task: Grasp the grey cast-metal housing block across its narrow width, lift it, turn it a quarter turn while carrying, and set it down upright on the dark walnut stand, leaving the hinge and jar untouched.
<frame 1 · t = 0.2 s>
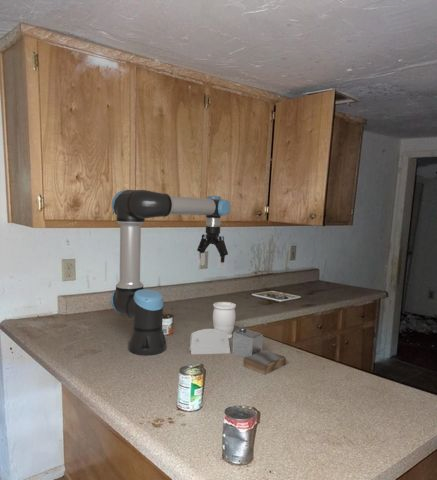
hand: (211, 266, 199), 28 cm above the worktop, fingers open, 13 cm apart
stand: (264, 365, 145), on the worktop
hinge: (209, 351, 158), on the worktop
housing: (247, 355, 154), on the worktop
jar: (223, 336, 176), on the worktop
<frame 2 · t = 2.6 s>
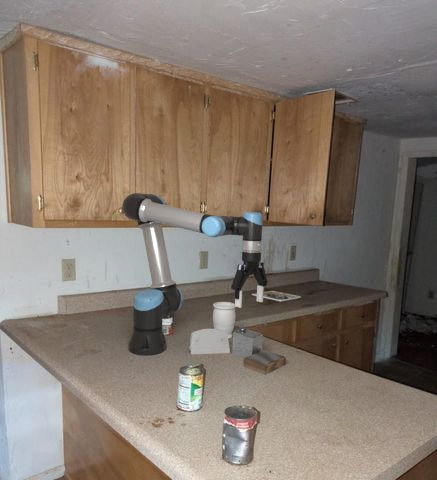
hand: (249, 304, 153), 21 cm above the worktop, fingers open, 13 cm apart
nothing on the worktop moved.
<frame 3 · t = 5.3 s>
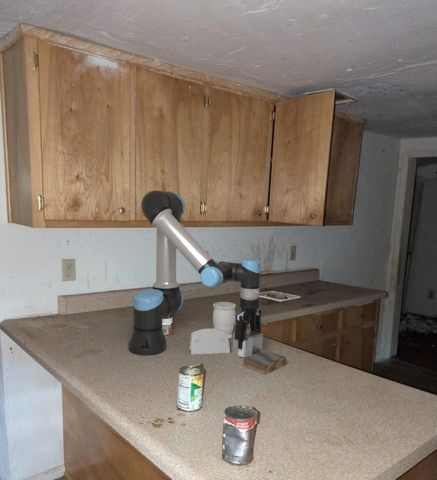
hand: (247, 353, 154), 0 cm above the worktop, fingers closed on housing, 6 cm apart
housing: (247, 355, 154), on the worktop, touching gripper
everything else where it was.
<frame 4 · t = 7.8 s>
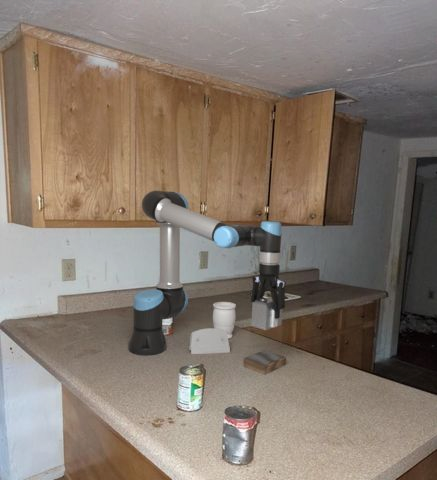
hand: (266, 324, 143), 16 cm above the worktop, fingers closed on housing, 6 cm apart
housing: (266, 325, 143), point 16 cm above the worktop, touching gripper
everything else where it was.
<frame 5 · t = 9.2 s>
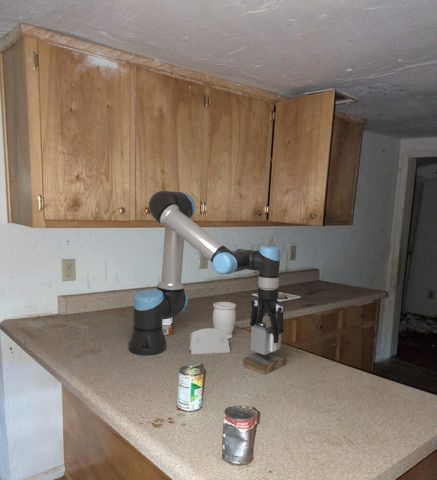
hand: (265, 348, 144), 7 cm above the worktop, fingers closed on housing, 6 cm apart
housing: (265, 349, 144), point 6 cm above the worktop, touching gripper
everything else where it was.
when the fingers open (4 cm above the worktop, at t = 10.5 s): housing stays where it is, resting on stand.
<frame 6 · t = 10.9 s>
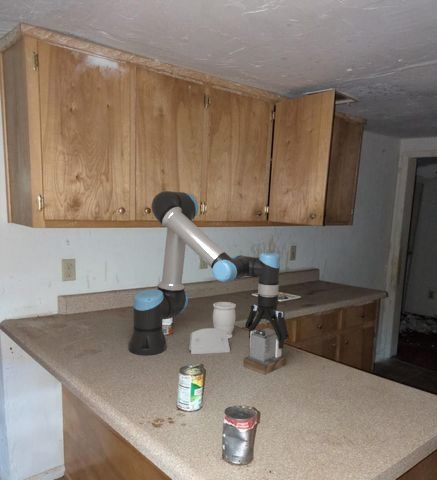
hand: (265, 351, 144), 5 cm above the worktop, fingers open, 11 cm apart
housing: (264, 356, 144), point 3 cm above the worktop, touching stand
everything else where it was.
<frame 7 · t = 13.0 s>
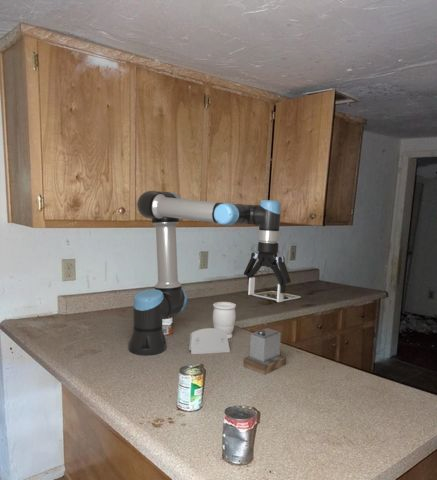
hand: (265, 297, 144), 25 cm above the worktop, fingers open, 13 cm apart
nothing on the worktop moved.
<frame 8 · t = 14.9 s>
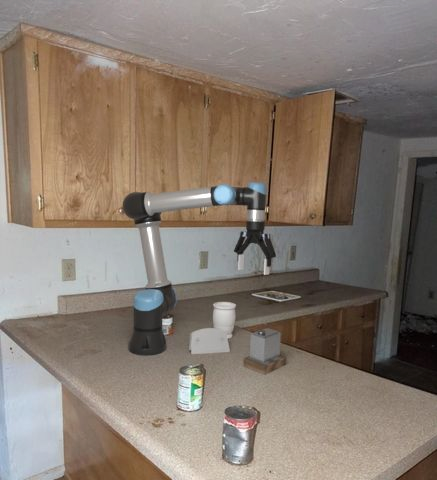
hand: (253, 272, 158), 33 cm above the worktop, fingers open, 13 cm apart
nothing on the worktop moved.
at the end: housing inside the target area on the stand (0.1 cm from its centre), point 3.3 cm above the stand's base; housing tilted 0°; the gripper is holding nothing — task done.
